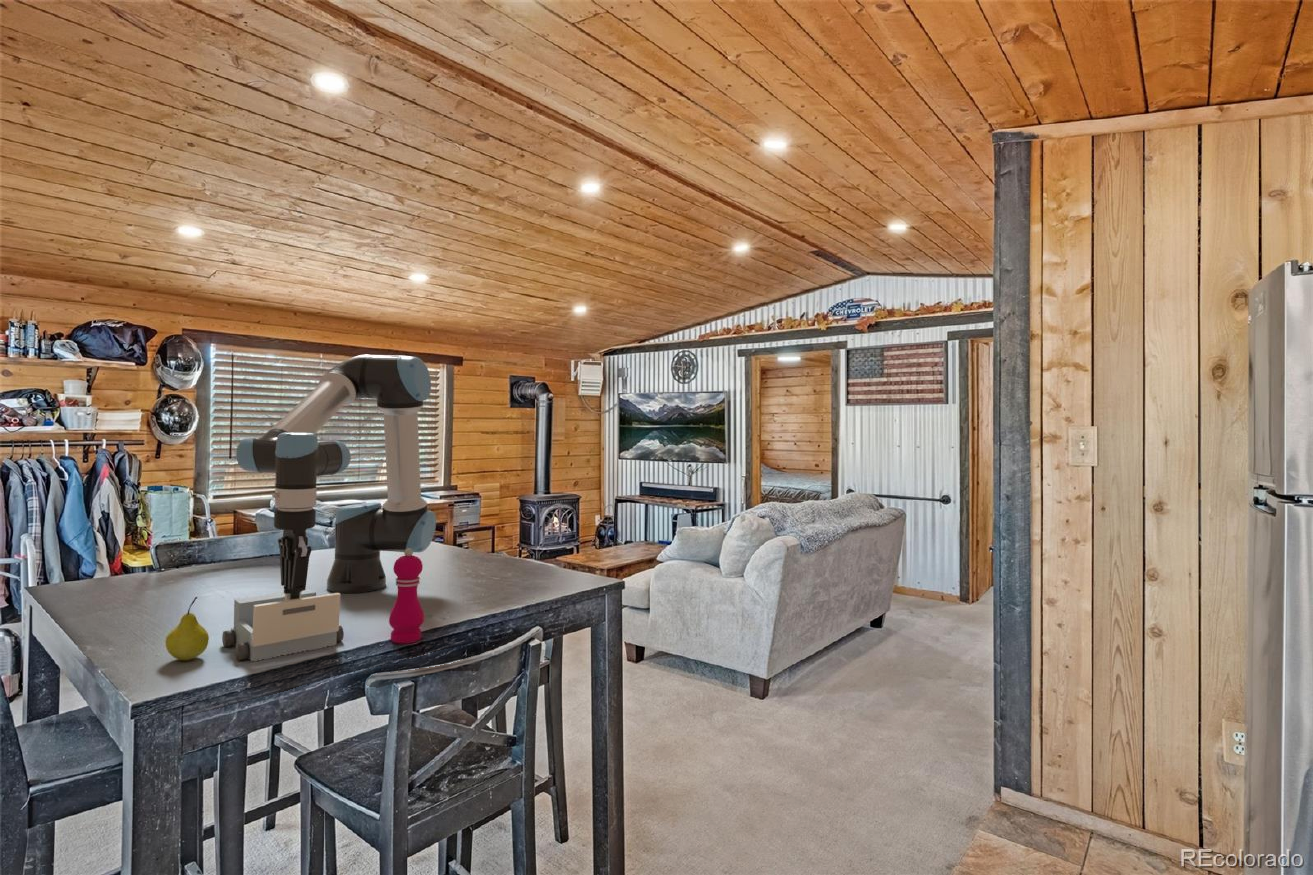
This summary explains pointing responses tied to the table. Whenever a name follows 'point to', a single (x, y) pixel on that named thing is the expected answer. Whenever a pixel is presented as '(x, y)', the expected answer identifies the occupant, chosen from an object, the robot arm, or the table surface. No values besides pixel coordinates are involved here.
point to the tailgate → (295, 619)
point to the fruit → (187, 638)
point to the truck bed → (245, 650)
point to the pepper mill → (407, 600)
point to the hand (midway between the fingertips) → (292, 622)
